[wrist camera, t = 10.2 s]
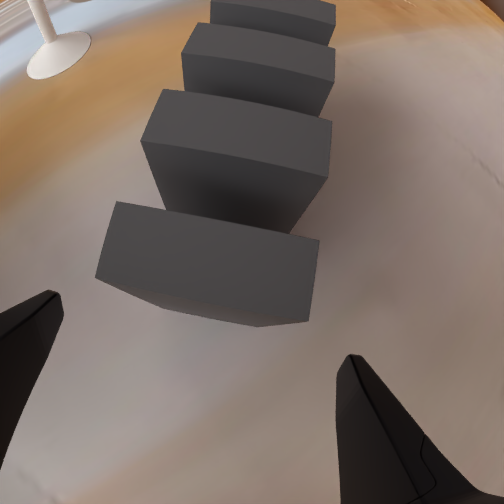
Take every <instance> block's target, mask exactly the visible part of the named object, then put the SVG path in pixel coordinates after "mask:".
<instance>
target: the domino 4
mask: <svg viewBox="0 0 504 504" xmlns="http://www.w3.org/2000/svg"><path fill="white" fill-rule="evenodd" d="M318 248H319V240H315V239H310V238H305V237H300V236H296V235H291V234H286V233H281V232H276V231H271V230H266V229H261V228H257V227H252V226H246V225H241V224H236V223H231V222H226V221H221V220H216V219H211V218H205V217H200V216H195V215H190V214H184V213H179V212H173V211H168V210H163V209H157V208H152V207H146V206H140V205H135V204H129V203H123V202H118V201H116V204H115V207H114V210H113V214H112V217H111V220H110V223H109V227H108V230H107V234H106V237H105V241H104V244H103V248H102V252H101V255H100V259H99V263H98V267H97V271H96V275H95V278H96V279H99V280H101V281H103V282H105V283H107V284H109V285H111V286H113V287H116V288H118V289H120V290H122V291H124V292H127V293H129V294H131V295H133V296H136V297H138V298H140V299H142V300H145V301H147V302H149V303H152V304H154V305H156V306H159V307H161V308H164V309H168V310H173V311H177V312H182V313H187V314H191V315H196V316H201V317H206V318H211V319H216V320H221V321H227V322H232V323H237V324H243V325H248V326H254V327H264V326H273V325H282V324H291V323H299V322H307V321H309V314H310V308H311V301H312V294H313V287H314V279H315V272H316V264H317V256H318Z"/></svg>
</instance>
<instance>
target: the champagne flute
mask: <svg viewBox="0 0 504 504" xmlns="http://www.w3.org/2000/svg"><path fill="white" fill-rule="evenodd" d="M27 1H28V3H29V5H30V8H31V10H32V13H33V15H34V17H35V20H36V22H37V24H38V27H39V29H40V31H41V33H42V36H43V38H44V40H45V43H44V44H43V45H42V46H41V47H40V49H39V50H38V51H37V52H36V53H35V54H34V55H33V57H32V58H31V60H30V62H29V64H28V67H27V73H28V75H29V76H30V77H31V78H33V79H45V78H49V77H52V76H54V75H57V74H59V73H61V72H63V71H64V70H66V69H68V68H69V67H71V66H72V65H73V64H75V63H76V62H77V61H78V60H79V59H80V58H81V57H82V56H83V55H84V54H85V53H86V51H87V50H88V48H89V46H90V43H91V39H90V36H89V35H88V34H87V33H84V32H70V33H65V34H60V35H57V34H56V32H55V29H54V27H53V24H52V22H51V20H50V17H49V14H48V12H47V9H46V7H45V4H44V1H43V0H27Z"/></svg>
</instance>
